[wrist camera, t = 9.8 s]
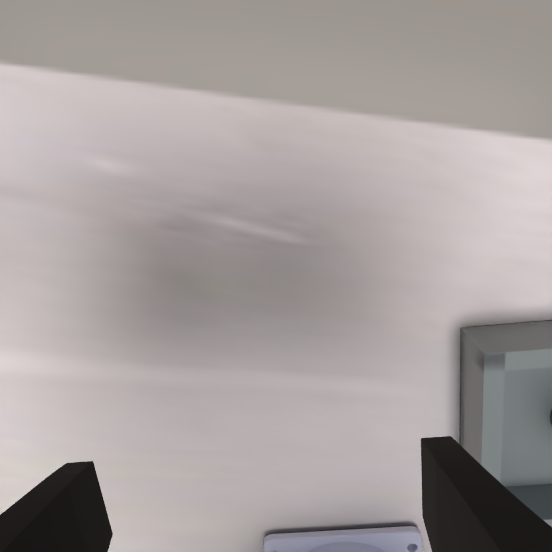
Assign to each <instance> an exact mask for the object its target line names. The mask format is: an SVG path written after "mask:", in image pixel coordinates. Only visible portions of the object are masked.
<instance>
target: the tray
mask: <svg viewBox="0 0 552 552" xmlns="http://www.w3.org/2000/svg"><path fill="white" fill-rule="evenodd" d="M551 410H552V320H549V321H537V322H525V323H514V324H502V325H490V326H478V327H467V328H461V376H460V445H461V446H462V447H463V448H464V449H465V450H466V451H467V452H468V453H469V454H470V455H471V456H472V457H473V458H474V459H475V460H476V461H478V462H479V463H480V464H481V465H482V466H483V467H484V468H485V469H486V470H487V471H488V472H489V473H490V474H491V475H493V476H494V477H495V478H496V479H497V480H498V481H499V482H500V483H501V484H502V485H503V486H505V487H506V488H507V489H508V490H509V491H510V492H511V493H512V494H514V495H515V496H516V497H517V498H518V499H519V500H520V501H522V502H523V503H524V504H525V505H526V506H527V507H529V508H530V509H531V510H532V511H533V512H534V513H535V514H537V515H538V516H539V517H540V518H541V519H542V520H544V521H545V522H546V523H547V524H548V525H550V526H551V527H552V425H551V423H550V413H551Z"/></svg>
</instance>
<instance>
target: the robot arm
mask: <svg viewBox="0 0 552 552" xmlns="http://www.w3.org/2000/svg"><path fill="white" fill-rule="evenodd" d="M421 461H422V510H423V519H424V523H425V527H426V530H427V534H428V538H429V541H430V545H431V549H432V552H552V527H551V526H550V525H548V524H547V523H546V522H545V521H544V520H542V519H541V518H540V517H539V516H538V515H537V514H535V513H534V512H533V511H532V510H531V509H530V508H529V507H527V506H526V505H525V504H524V503H523V502H522V501H520V500H519V499H518V498H517V497H516V496H515V495H514V494H512V493H511V492H510V491H509V490H508V489H507V488H506V487H505V486H503V485H502V484H501V483H500V482H499V481H498V480H497V479H496V478H495V477H494V476H493V475H491V474H490V473H489V472H488V471H487V470H486V469H485V468H484V467H483V466H482V465H481V464H480V463H479V462H478V461H476V460H475V459H474V458H473V457H472V456H471V455H470V454H469V453H468V452H467V451H466V450H465V449H464V448H463V447H462V446H461V445H460V444H459V443H457V442H456V441H455V440H454V439H453V438H452V437H451V436H447V437H433V438H421ZM112 535H113V534H112V530H111V526H110V522H109V519H108V515H107V511H106V508H105V504H104V500H103V497H102V493H101V489H100V486H99V482H98V478H97V474H96V471H95V467H94V463H93V461H90V462H76V463H66V464H65V465H63V466H62V467H61V468H59V469H58V470H56V471H55V472H54V473H52V474H51V475H50V476H48V477H47V478H46V479H45V480H43V481H42V482H41V483H40V484H38V485H37V486H36V487H35V488H33V489H32V490H31V491H30V492H28V493H27V494H26V495H25V496H23V497H22V498H21V499H20V500H18V501H17V502H16V503H15V504H13V505H12V506H11V507H10V508H8V509H7V510H6V511H5V512H3V513H2V514H1V515H0V552H108V548H109V545H110V541H111V538H112ZM409 544H413V545H409ZM263 549H264V552H272V551H276V552H422V536H421V533H420V530H419V529H418V528H416V527H414V526H404V527H386V528H369V529H351V530H334V531H316V532H299V533H282V534H270V535H268V536H266V537H265V538H264V544H263Z"/></svg>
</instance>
